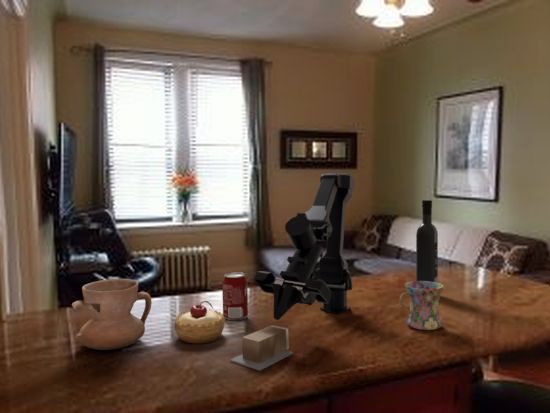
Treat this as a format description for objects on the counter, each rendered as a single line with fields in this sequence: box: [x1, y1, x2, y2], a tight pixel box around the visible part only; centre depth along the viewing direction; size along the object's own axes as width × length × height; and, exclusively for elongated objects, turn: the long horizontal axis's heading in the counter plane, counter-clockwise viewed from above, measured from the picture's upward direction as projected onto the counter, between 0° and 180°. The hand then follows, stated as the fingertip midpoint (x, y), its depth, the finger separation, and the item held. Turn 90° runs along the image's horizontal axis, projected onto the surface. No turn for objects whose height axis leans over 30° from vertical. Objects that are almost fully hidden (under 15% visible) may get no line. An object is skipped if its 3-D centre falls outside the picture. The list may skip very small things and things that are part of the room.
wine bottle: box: [415, 199, 439, 283], centre depth 147 cm, size 6×6×30 cm
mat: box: [230, 349, 294, 372], centre depth 100 cm, size 11×8×1 cm
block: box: [241, 324, 290, 363], centre depth 101 cm, size 4×4×10 cm
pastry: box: [174, 300, 226, 344], centre depth 113 cm, size 12×12×9 cm
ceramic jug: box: [71, 278, 153, 351], centre depth 109 cm, size 18×14×14 cm
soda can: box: [221, 272, 249, 322], centre depth 128 cm, size 7×7×12 cm
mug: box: [398, 280, 445, 331], centre depth 117 cm, size 12×9×11 cm
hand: (275, 318), depth 103 cm, fingers closed
